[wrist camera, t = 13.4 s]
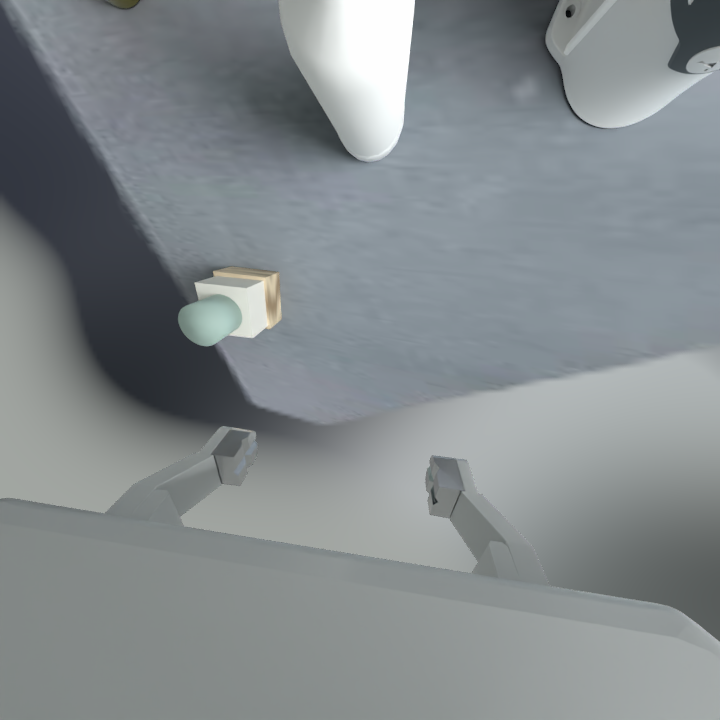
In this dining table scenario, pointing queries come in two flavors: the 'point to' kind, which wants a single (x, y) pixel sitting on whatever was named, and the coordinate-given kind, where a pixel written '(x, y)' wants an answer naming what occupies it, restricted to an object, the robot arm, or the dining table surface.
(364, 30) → the bottle
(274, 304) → the tower base
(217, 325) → the pale green rounded block
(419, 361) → the dining table surface
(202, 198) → the dining table surface
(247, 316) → the tower top
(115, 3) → the yellow tiered cone
